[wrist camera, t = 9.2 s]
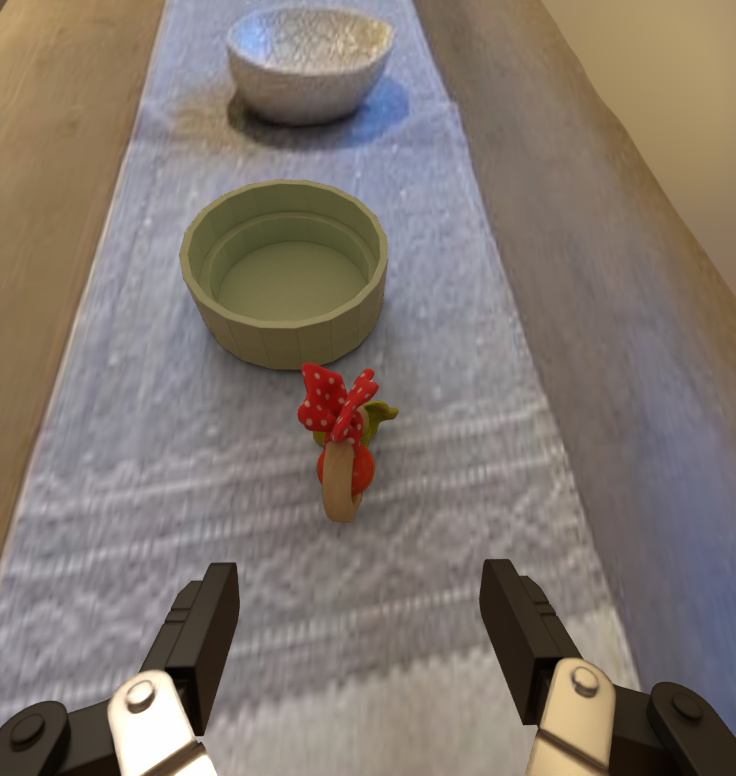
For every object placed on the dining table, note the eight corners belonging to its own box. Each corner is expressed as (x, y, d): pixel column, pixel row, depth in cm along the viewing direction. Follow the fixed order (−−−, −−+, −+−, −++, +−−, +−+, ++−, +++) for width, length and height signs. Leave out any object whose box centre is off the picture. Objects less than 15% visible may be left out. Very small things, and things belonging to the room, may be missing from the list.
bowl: (384, 374, 33) (392, 329, 28) (189, 372, 32) (159, 326, 27) (378, 238, 40) (383, 182, 35) (219, 234, 40) (199, 176, 34)
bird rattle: (393, 505, 30) (398, 381, 31) (414, 554, 19) (421, 361, 20) (308, 502, 30) (314, 378, 31) (279, 549, 19) (291, 354, 20)
